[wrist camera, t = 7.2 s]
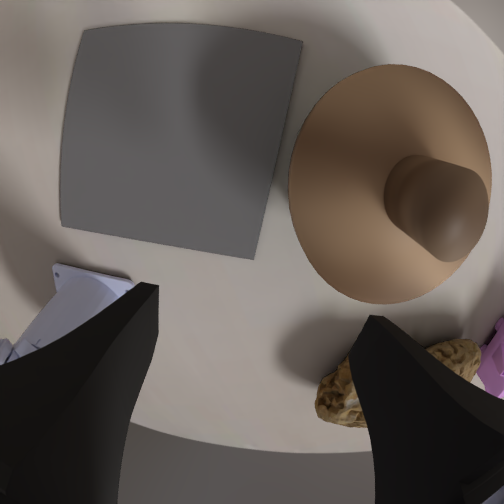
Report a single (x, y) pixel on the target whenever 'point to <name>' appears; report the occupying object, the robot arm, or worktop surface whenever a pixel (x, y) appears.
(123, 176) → the mat
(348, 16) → the worktop surface
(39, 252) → the worktop surface
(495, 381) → the teapot
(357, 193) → the lid
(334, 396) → the sponge
